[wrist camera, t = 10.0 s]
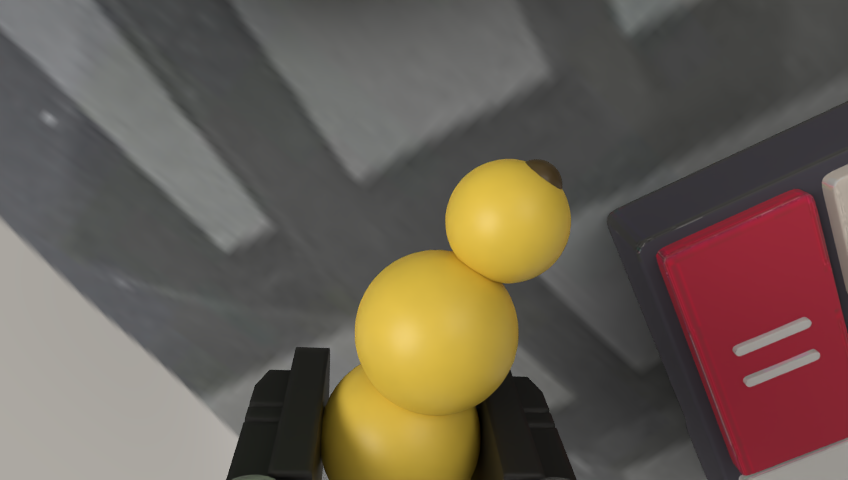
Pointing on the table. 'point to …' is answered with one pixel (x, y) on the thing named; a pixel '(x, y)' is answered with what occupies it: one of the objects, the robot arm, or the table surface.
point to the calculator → (753, 301)
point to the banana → (444, 331)
